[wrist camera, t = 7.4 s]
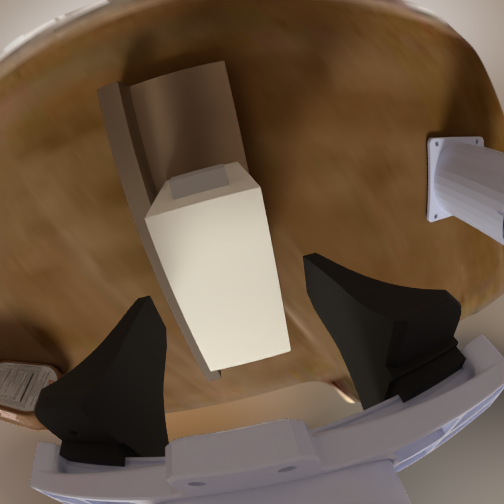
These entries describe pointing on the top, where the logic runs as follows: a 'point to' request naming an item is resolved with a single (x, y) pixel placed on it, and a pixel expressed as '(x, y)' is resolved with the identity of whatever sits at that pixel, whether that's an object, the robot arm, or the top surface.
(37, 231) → the top surface
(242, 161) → the ledge board
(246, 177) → the cabinet block
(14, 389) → the tin
